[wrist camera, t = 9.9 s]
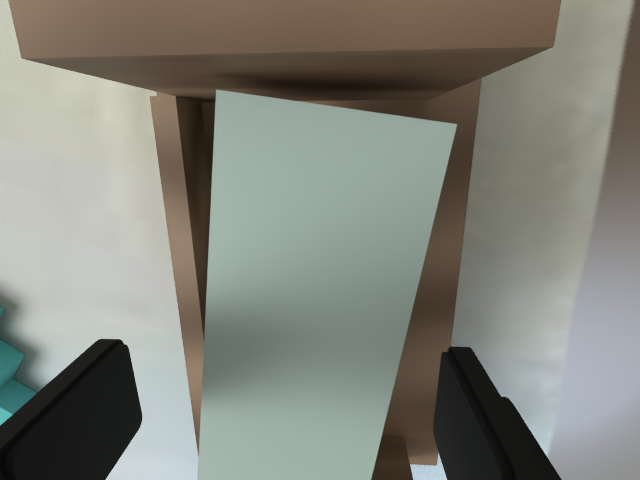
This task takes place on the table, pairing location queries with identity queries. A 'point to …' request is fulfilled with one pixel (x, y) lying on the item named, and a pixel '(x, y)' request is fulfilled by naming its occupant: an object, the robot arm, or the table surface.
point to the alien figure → (11, 381)
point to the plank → (310, 282)
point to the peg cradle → (311, 87)
